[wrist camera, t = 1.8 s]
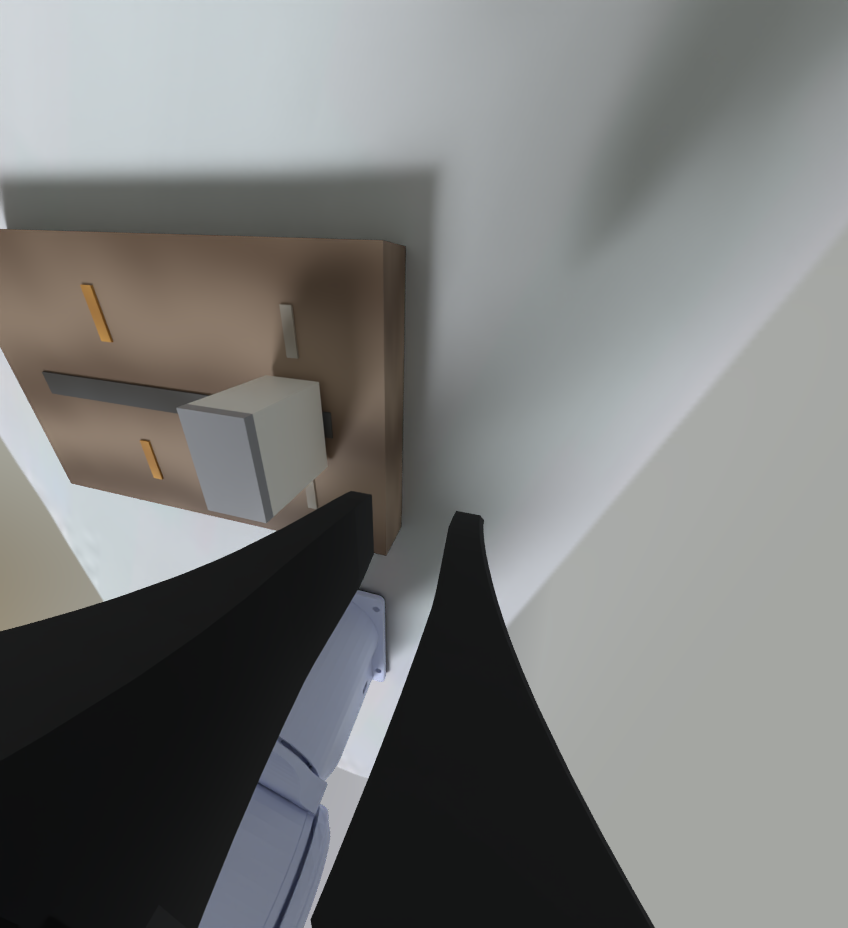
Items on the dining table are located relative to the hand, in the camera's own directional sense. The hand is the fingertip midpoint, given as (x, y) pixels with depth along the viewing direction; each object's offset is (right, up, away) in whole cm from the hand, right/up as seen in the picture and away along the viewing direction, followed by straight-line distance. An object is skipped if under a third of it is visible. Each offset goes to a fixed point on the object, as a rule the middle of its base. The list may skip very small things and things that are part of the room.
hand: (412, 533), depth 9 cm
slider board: (-11, +6, +10) cm, 16 cm away
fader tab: (-5, +4, +7) cm, 9 cm away
